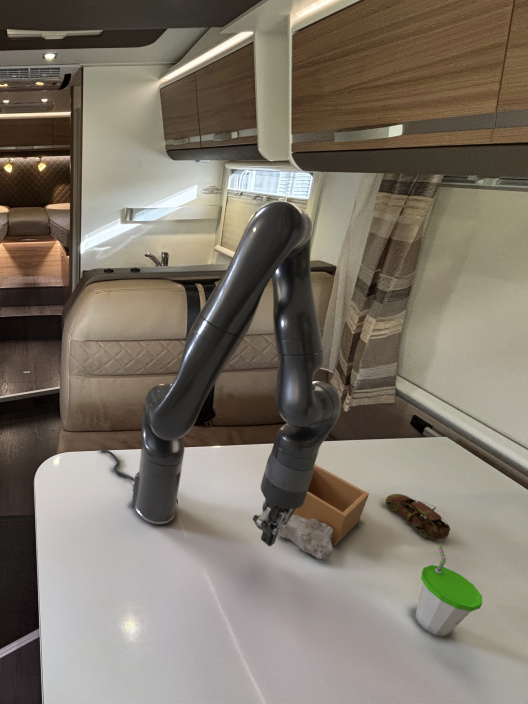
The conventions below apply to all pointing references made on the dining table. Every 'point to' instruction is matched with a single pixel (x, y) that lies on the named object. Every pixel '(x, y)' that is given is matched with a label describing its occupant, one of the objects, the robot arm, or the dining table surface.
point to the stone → (309, 536)
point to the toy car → (419, 516)
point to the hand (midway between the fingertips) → (267, 541)
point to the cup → (445, 599)
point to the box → (333, 503)
